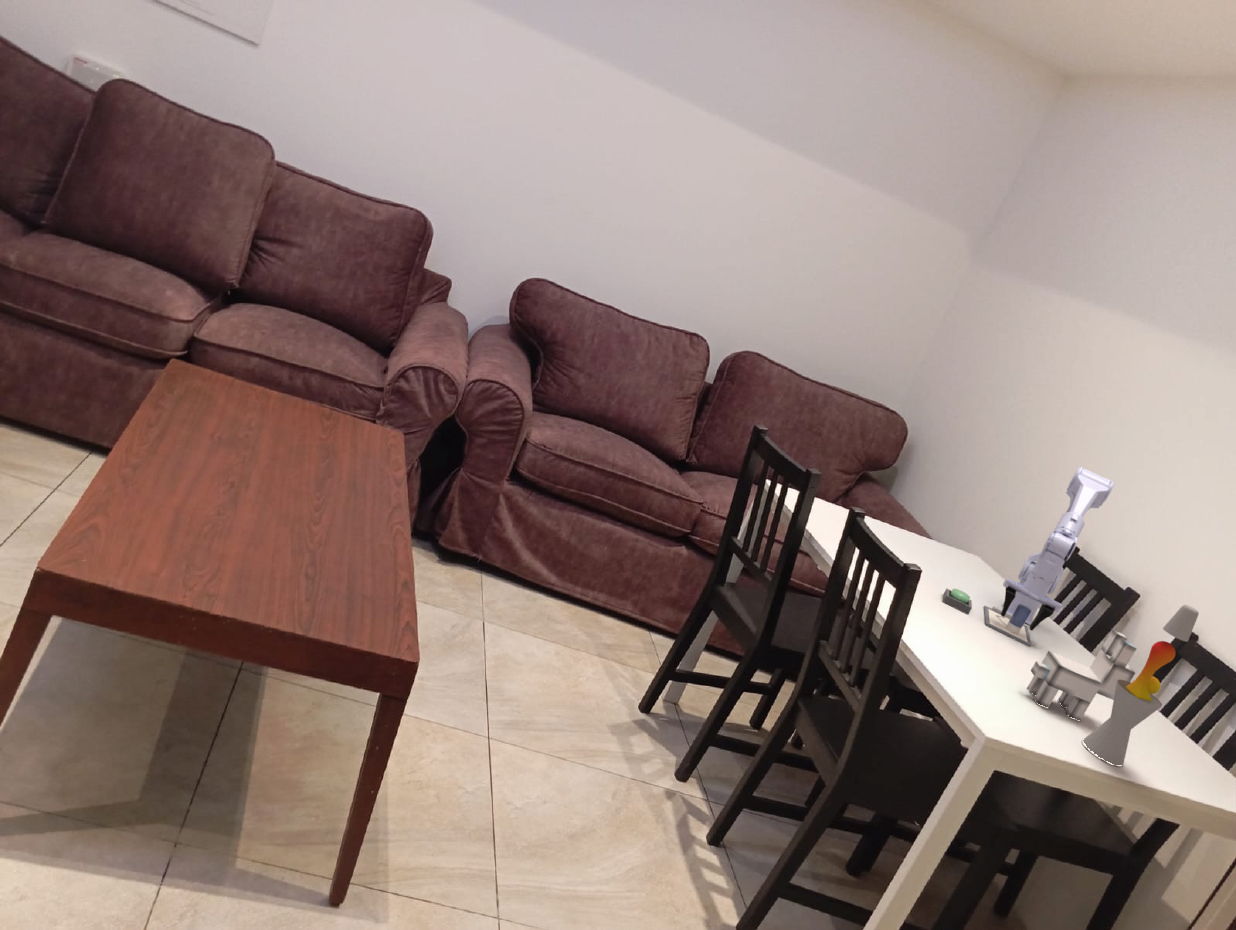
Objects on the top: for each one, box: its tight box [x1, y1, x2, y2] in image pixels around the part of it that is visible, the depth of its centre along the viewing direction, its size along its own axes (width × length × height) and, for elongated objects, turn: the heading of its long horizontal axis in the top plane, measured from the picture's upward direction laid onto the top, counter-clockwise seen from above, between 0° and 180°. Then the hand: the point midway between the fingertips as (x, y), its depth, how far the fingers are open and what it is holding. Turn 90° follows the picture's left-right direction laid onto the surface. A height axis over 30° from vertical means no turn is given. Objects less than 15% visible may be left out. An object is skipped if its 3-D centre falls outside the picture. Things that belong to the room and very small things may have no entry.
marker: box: [1005, 604, 1031, 634], centre depth 263 cm, size 3×3×7 cm
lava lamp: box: [1082, 604, 1199, 766], centre depth 205 cm, size 9×9×35 cm
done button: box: [949, 588, 971, 605], centre depth 268 cm, size 5×5×2 cm
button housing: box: [942, 587, 973, 615], centre depth 269 cm, size 7×7×2 cm
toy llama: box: [1026, 629, 1137, 721], centre depth 223 cm, size 8×18×20 cm, turn 85°
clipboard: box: [983, 605, 1032, 648], centre depth 268 cm, size 16×12×2 cm
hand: (1016, 622), depth 263 cm, fingers open, 7 cm apart
